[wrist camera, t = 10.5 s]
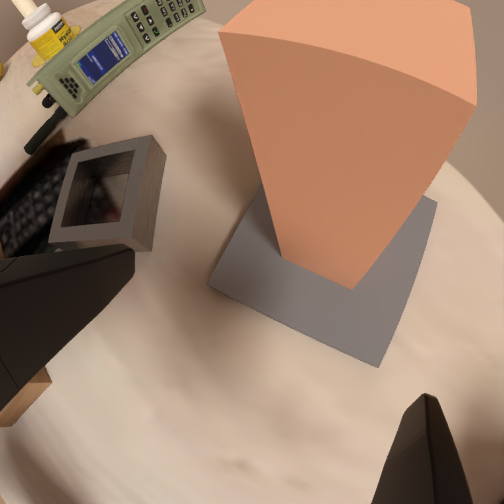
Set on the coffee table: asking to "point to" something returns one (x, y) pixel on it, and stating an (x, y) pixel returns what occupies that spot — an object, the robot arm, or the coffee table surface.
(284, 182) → the salmon orange rectangular block
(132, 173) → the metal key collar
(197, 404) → the coffee table surface
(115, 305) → the coffee table surface
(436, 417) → the robot arm
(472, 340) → the coffee table surface
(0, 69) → the lemon
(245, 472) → the coffee table surface
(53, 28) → the supplement bottle
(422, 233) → the charcoal mat
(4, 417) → the walnut toolbox
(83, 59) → the handheld radio
